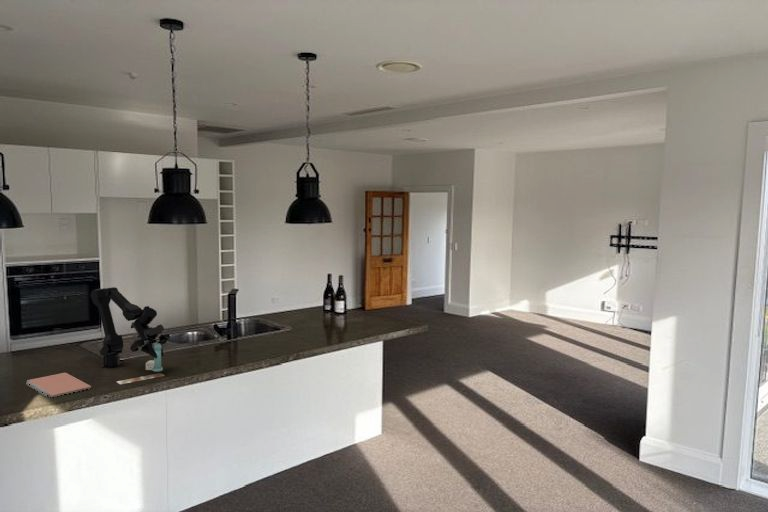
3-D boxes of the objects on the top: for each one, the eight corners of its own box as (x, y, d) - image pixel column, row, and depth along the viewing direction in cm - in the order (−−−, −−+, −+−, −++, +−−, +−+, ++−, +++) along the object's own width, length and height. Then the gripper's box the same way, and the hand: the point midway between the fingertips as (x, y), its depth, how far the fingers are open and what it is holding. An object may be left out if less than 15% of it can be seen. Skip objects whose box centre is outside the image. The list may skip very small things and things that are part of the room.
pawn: (151, 371, 250) (151, 344, 249) (154, 368, 254) (154, 342, 253) (160, 371, 250) (160, 344, 249) (164, 368, 254) (164, 342, 253)
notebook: (24, 384, 239) (24, 380, 239) (65, 376, 253) (65, 371, 252) (48, 400, 223) (48, 395, 222) (91, 390, 236) (91, 385, 236)
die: (145, 372, 260) (145, 362, 259) (149, 369, 264) (149, 360, 264) (155, 372, 260) (155, 363, 259) (158, 369, 264) (158, 360, 264)
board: (119, 388, 238) (119, 385, 238) (114, 384, 242) (114, 381, 242) (166, 378, 252) (166, 375, 252) (160, 375, 257) (160, 372, 257)
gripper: (134, 323, 243) (151, 351, 239) (168, 316, 260) (184, 342, 256) (122, 337, 248) (139, 365, 244) (156, 330, 264) (172, 356, 260)
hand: (159, 356), depth 251 cm, fingers closed on pawn, 3 cm apart
